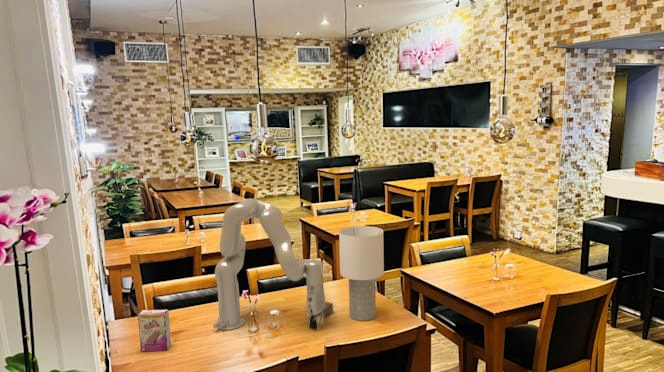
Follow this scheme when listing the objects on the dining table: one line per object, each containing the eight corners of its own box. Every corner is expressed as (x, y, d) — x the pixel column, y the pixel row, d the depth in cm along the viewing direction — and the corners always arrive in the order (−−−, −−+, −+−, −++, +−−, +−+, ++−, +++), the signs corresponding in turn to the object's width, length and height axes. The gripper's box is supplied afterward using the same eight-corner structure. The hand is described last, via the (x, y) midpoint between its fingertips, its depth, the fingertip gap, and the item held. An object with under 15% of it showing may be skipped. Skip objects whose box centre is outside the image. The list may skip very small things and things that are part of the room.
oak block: (318, 329, 201) (318, 317, 201) (308, 327, 204) (308, 315, 203) (323, 325, 206) (323, 312, 205) (314, 323, 208) (313, 311, 207)
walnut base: (324, 319, 213) (323, 309, 212) (310, 315, 217) (310, 305, 216) (333, 312, 219) (332, 303, 219) (319, 309, 224) (319, 300, 223)
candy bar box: (140, 352, 186) (137, 314, 183) (145, 346, 190) (141, 309, 188) (167, 351, 186) (164, 313, 184) (171, 345, 191) (168, 308, 188)
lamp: (373, 304, 228) (372, 224, 222) (391, 321, 208) (390, 233, 202) (335, 310, 222) (333, 228, 216) (349, 328, 202) (347, 238, 196)
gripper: (313, 295, 193) (314, 335, 196) (330, 282, 208) (332, 319, 211) (298, 292, 196) (299, 331, 199) (316, 280, 211) (317, 316, 214)
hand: (316, 325), depth 205 cm, fingers closed on oak block, 5 cm apart
